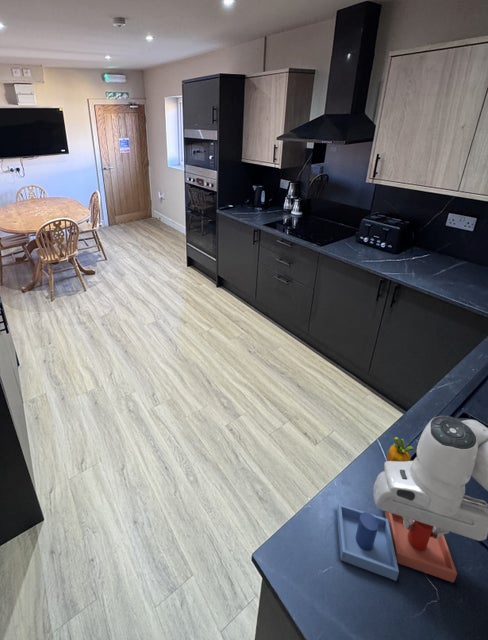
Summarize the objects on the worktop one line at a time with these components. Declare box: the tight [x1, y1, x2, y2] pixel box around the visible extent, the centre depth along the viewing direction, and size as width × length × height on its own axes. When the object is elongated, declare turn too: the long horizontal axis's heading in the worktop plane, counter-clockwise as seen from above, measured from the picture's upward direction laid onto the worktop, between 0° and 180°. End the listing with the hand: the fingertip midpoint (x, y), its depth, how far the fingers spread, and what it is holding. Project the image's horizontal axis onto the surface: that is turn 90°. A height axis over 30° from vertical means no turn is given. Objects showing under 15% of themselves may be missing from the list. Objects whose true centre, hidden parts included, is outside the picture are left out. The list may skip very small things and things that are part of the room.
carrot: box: [386, 436, 414, 462], centre depth 84 cm, size 5×5×15 cm
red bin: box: [384, 511, 458, 583], centre depth 73 cm, size 11×10×3 cm
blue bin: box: [336, 503, 400, 582], centre depth 73 cm, size 11×10×3 cm
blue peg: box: [355, 511, 378, 551], centre depth 73 cm, size 4×4×7 cm
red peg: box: [407, 520, 434, 551], centre depth 72 cm, size 4×4×7 cm
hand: (420, 530), depth 72 cm, fingers closed on red peg, 3 cm apart
